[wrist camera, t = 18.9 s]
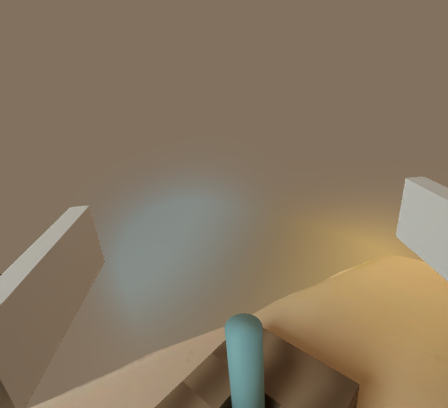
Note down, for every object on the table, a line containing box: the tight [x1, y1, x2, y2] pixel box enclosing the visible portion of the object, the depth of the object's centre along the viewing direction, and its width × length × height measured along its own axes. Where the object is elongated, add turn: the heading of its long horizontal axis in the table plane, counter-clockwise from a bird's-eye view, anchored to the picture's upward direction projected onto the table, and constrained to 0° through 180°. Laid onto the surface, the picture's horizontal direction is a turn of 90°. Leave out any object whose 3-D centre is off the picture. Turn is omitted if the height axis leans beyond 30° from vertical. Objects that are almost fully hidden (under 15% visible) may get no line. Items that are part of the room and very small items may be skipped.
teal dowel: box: [225, 314, 265, 408], centre depth 31 cm, size 4×4×16 cm
